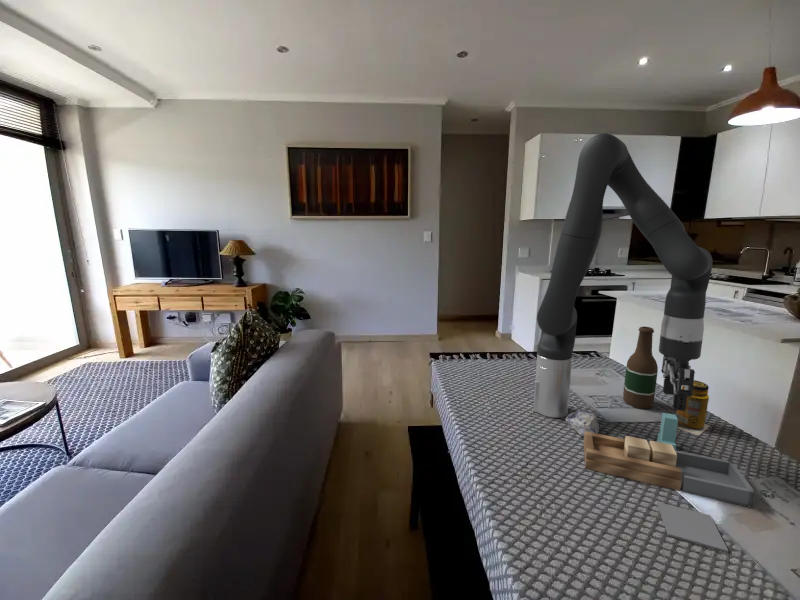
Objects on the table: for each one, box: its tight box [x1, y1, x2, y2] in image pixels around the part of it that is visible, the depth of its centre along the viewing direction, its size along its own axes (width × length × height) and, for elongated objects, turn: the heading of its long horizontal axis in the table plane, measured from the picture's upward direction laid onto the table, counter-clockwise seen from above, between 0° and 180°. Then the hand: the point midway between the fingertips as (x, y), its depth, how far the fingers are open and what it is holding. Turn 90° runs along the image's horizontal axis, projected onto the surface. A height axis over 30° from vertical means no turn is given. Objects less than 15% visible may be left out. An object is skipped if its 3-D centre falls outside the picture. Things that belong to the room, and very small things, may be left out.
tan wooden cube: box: [624, 435, 650, 461], centre depth 77 cm, size 4×4×4 cm
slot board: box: [582, 431, 682, 491], centre depth 78 cm, size 17×10×4 cm, turn 65°
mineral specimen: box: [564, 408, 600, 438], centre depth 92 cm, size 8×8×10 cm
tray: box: [675, 450, 756, 508], centre depth 72 cm, size 11×10×3 cm
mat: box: [656, 501, 729, 554], centre depth 62 cm, size 8×8×1 cm
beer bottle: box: [622, 326, 659, 410], centre depth 104 cm, size 8×8×24 cm
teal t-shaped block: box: [656, 412, 678, 451], centre depth 83 cm, size 2×5×8 cm, turn 155°
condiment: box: [675, 379, 711, 437], centre depth 93 cm, size 7×8×12 cm
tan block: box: [648, 440, 677, 467], centre depth 75 cm, size 4×4×4 cm
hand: (673, 401), depth 82 cm, fingers open, 8 cm apart
